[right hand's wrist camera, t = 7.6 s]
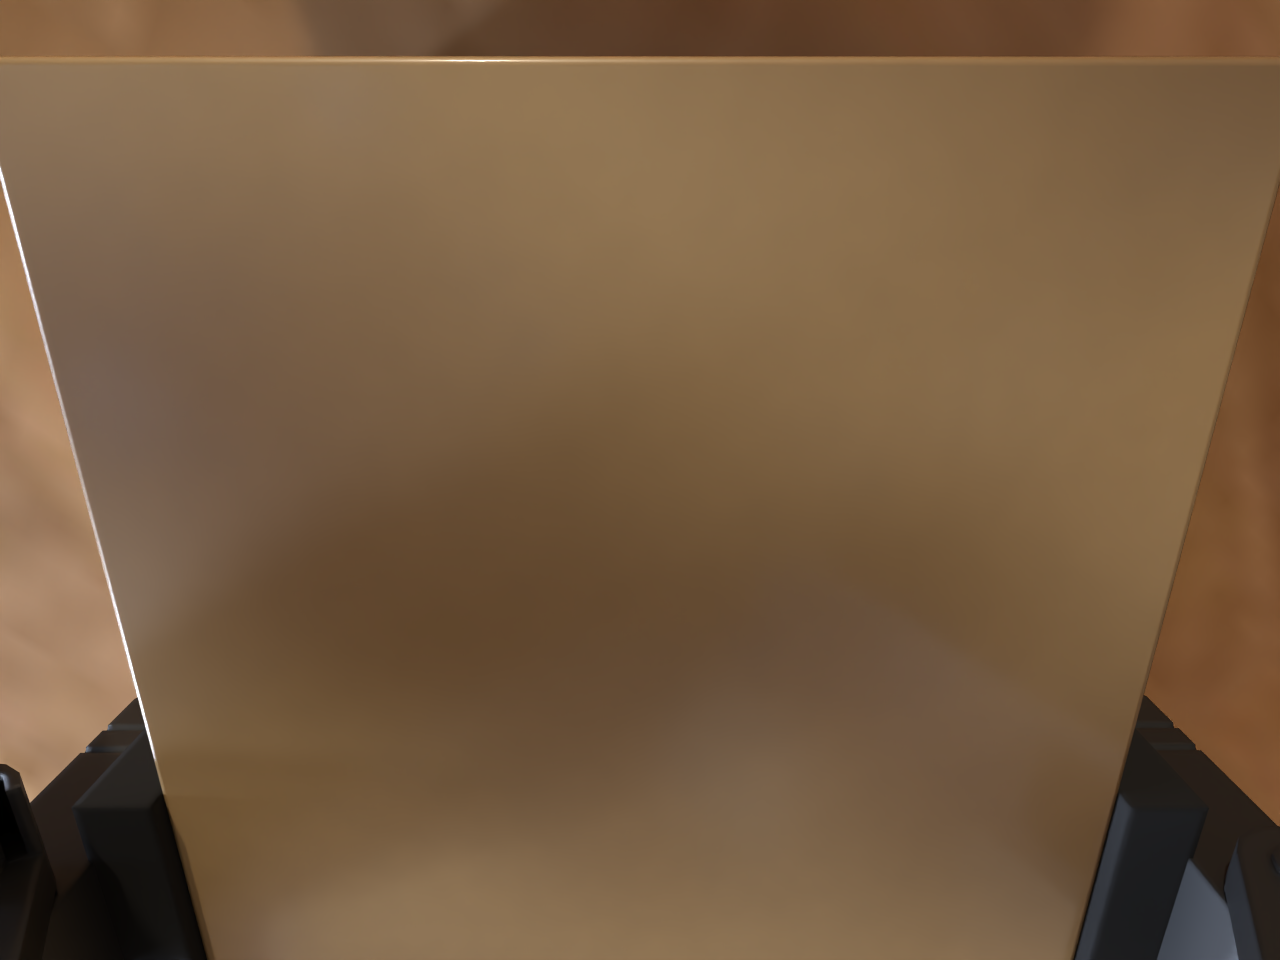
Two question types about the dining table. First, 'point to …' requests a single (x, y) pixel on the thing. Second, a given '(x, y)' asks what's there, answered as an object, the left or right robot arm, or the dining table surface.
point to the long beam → (640, 476)
